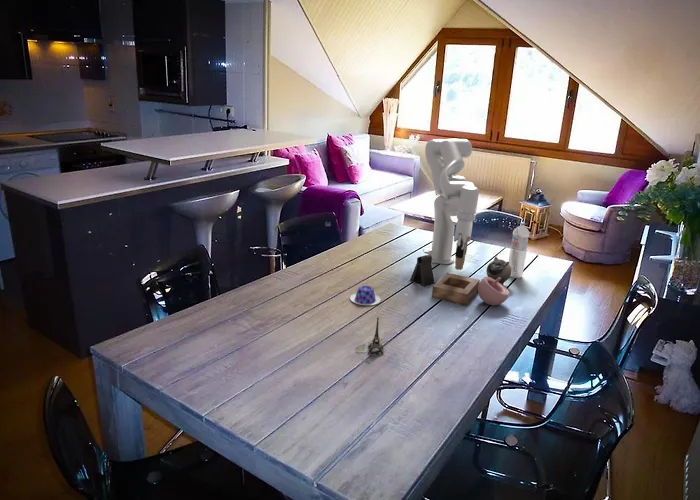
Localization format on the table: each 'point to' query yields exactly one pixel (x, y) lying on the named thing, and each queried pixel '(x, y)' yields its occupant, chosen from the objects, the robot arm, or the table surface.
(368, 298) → the pudding
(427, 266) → the door stopper
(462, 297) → the socket block
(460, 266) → the handle
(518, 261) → the water bottle
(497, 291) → the mortar and pestle
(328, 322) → the table surface
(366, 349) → the eiffel tower figurine
